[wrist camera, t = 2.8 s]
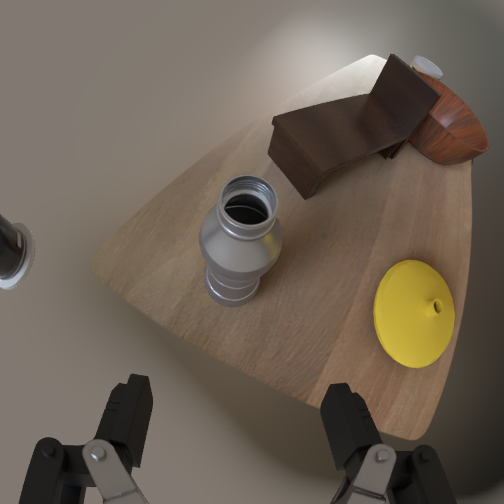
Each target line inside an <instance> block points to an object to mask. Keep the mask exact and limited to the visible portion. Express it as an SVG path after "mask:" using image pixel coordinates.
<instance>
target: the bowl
mask: <svg viewBox="0 0 504 504" xmlns="http://www.w3.org/2000/svg"><path fill="white" fill-rule="evenodd" d="M415 71H416V70H415ZM416 72H417V73H418V74H419V75H420V76H422V77H423V78H424V79H425V80H426V81H427V82H428V83H429V84H430V85H432V86H433V87H434V88H435V89H436V90H437V91H438V92H439V93H440V94H441V95H442V96H441V97H440V99H439V100H438V101H437V103H436V104H435V105H434V107H433V108H432V110H431V111H430V112H429V114H428V115H427V116H426V118H425V119H424V120H423V122H422V123H421V124H420V126H419V127H418V128H417V130H416V131H415V132H414V133H413V135H412V136H411V137H410V139H409V141H410V142H411V143H412V144H413V146H414V147H415V148H416V149H418V150H419V151H420V152H421V153H422V154H424V155H425V156H427V157H428V158H429V159H431V160H433V161H435V162H437V163H441V164H445V165H452V164H458V163H463V162H466V161H468V160H471V159H473V158H475V157H477V156H478V155H480V154H482V153H484V152H485V151H487V149H488V148H489V141H488V138H487V135H486V132H485V130H484V128H483V127H482V125H481V123H480V121H479V120H478V119H477V117H476V116H475V114H474V113H473V112H472V110H471V109H470V108H469V107H468V106H467V105H466V104H465V103H464V101H463V100H462V99H461V98H460V97H459V96H457V95H456V94H455V93H454V92H453V91H452V90H450V89H449V88H448V87H447V86H445V85H444V84H442V83H441V82H440V81H438V80H436V79H435V78H433V77H431V76H429V75H427V74H425V73H422V72H420V71H416Z"/></svg>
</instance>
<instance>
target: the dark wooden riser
mask: <svg viewBox="0 0 504 504" xmlns="http://www.w3.org/2000/svg"><path fill="white" fill-rule="evenodd" d="M441 96H442V95H441V94H440V93H439V92H438V91H437V90H436V89H435V88H434V87H433V86H432V85H430V84H429V83H428V82H427V81H426V80H425V79H424V78H423V77H422V76H420V75H419V74H418V73H417V72H416V71H415V70H413V69H412V68H411V67H410V66H409V65H407V64H406V63H405V62H403V61H402V60H401V59H400V58H398V57H397V56H396V55H395V54H390V56H389V58H388V60H387V62H386V64H385V66H384V68H383V70H382V72H381V73H380V75H379V77H378V79H377V81H376V83H375V85H374V87H373V89H372V90H371V92H370V93H369V94H363V95H358V96H353V97H348V98H343V99H339V100H334V101H330V102H326V103H321V104H317V105H313V106H310V107H306V108H302V109H298V110H295V111H291V112H288V113H284V114H281V115H277V116H274V117H273V120H272V125H273V126H274V131H273V135H272V138H271V142H270V146H269V150H268V155H269V156H270V157H271V159H272V160H273V161H274V162H275V163H276V165H277V166H278V167H279V168H280V169H281V171H282V172H283V173H284V174H285V176H286V177H287V178H288V179H289V181H290V182H291V183H292V184H293V186H294V187H295V188H296V189H297V191H298V192H299V193H300V194H301V196H302V197H303V198H304V199H305V200H306V199H308V198H310V197H312V196H313V194H314V193H315V191H316V189H317V187H318V186H319V184H320V182H321V180H322V179H323V177H324V176H325V175H327V174H330V173H332V172H334V171H336V170H338V169H340V168H342V167H345V166H347V165H349V164H351V163H353V162H356V161H358V160H360V159H362V158H364V157H367V156H369V155H371V154H373V153H376V152H379V153H380V154H381V155H382V156H383V158H384V159H385V160H386V159H388V158H390V159H393V158H395V156H396V155H397V154H398V153H399V151H400V150H401V149H402V148H403V146H404V145H405V144H406V142H407V141H408V140H409V139H410V137H411V136H412V135H413V133H414V132H415V131H416V130H417V128H418V127H419V126H420V124H421V123H422V122H423V120H424V119H425V118H426V116H427V115H428V114H429V112H430V111H431V110H432V108H433V107H434V105H435V104H436V103H437V101H438V100H439V99H440V97H441Z"/></svg>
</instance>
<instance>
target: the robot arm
mask: <svg viewBox="0 0 504 504" xmlns="http://www.w3.org/2000/svg"><path fill="white" fill-rule="evenodd" d="M26 251H27V242H26V238H25V235H24V234H23V233H22V232H21V231H20V230H19V229H18V228H16V227H15V226H13V225H12V224H11V223H10V222H9V221H8V220H7V219H5V218H4V217H3V216H2V215H1V214H0V279H1V280H9V279H11V278H13V277H14V276H15V275H16V274H17V273H18V272H19V270H20V269H21V267H22V265H23V262H24V260H25V256H26ZM152 407H153V396H152V392H151V387H150V382H149V378H148V376H143V375H137V374H131V375H130V377H129V380H128V383H127V384H122V383H119V384H118V385H117V386H116V387H115V388H114V389H113V390H112V392H111V394H110V397H109V401H108V402H107V405H106V409H105V410H104V413H103V416H102V418H101V421H100V424H99V427H98V430H97V433H96V435H95V437H94V439H93V440H91V441H89V442H88V443H87V444H85V445H80V446H74V445H62V444H61V443H60V442H59V441H58V440H56V439H54V438H50V437H48V438H47V437H46V438H43V439H41V440H39V441H38V443H37V444H36V447H35V449H34V452H33V455H32V458H31V461H30V464H29V468H28V471H27V474H26V477H25V481H24V485H23V489H22V492H21V496H20V500H19V504H84V498H85V492H86V487H97V488H98V490H99V492H100V494H101V496H102V498H103V504H149V502H148V501H147V500H146V498H145V497H144V495H143V494H142V492H141V491H140V489H139V487H138V486H137V484H136V483H135V481H134V479H133V478H132V476H131V472H132V467H138V468H140V464H141V459H142V454H143V449H144V444H145V439H146V435H147V430H148V426H149V421H150V417H151V412H152ZM320 412H321V417H322V421H323V424H324V428H325V431H326V434H327V438H328V441H329V445H330V448H331V452H332V455H333V459H334V462H335V466H336V469H337V471H340V470H345V471H346V475H345V477H344V479H343V481H342V483H341V484H340V486H339V488H338V490H337V492H336V494H335V496H334V497H333V499H332V501H331V503H330V504H385V502H386V498H384V497H383V495H384V492H385V490H386V492H387V496H388V499H389V503H390V504H457V503H456V500H455V497H454V494H453V492H452V489H451V487H450V484H449V482H448V479H447V477H446V475H445V472H444V469H443V467H442V465H441V462H440V460H439V458H438V455H437V453H436V451H435V450H434V449H433V448H432V447H430V446H428V445H420V446H418V447H416V448H415V449H414V450H413V451H394V450H393V448H391V447H390V446H388V445H386V444H384V443H383V442H382V440H381V438H380V435H379V433H378V431H377V428H376V426H375V424H374V421H373V419H372V417H371V414H370V412H369V410H368V408H367V405H366V403H365V401H364V399H363V398H362V397H361V396H360V395H359V394H358V393H352V392H351V390H350V387H349V385H348V384H347V383H338V384H330V386H329V388H328V390H327V392H326V394H325V397H324V399H323V401H322V403H321V408H320Z"/></svg>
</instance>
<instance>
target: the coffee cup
mask: <svg viewBox="0 0 504 504" xmlns="http://www.w3.org/2000/svg"><path fill="white" fill-rule="evenodd" d="M410 67H411V68H412V69H413V70H416V71H420V72H422V73H425V74H427V75H429V76H431V77H433V78H435V79H436V80H438V81H440V79H442V77H443V74H442V72H441V70H440V69H439V68H438V67H437V66H435V65H434V64H433V63H432V62H430V61H429V60H427V59H426V58H423V57H422V56H418V55H417V56H416V57H414V60H413V62H412V64H411V66H410Z"/></svg>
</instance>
